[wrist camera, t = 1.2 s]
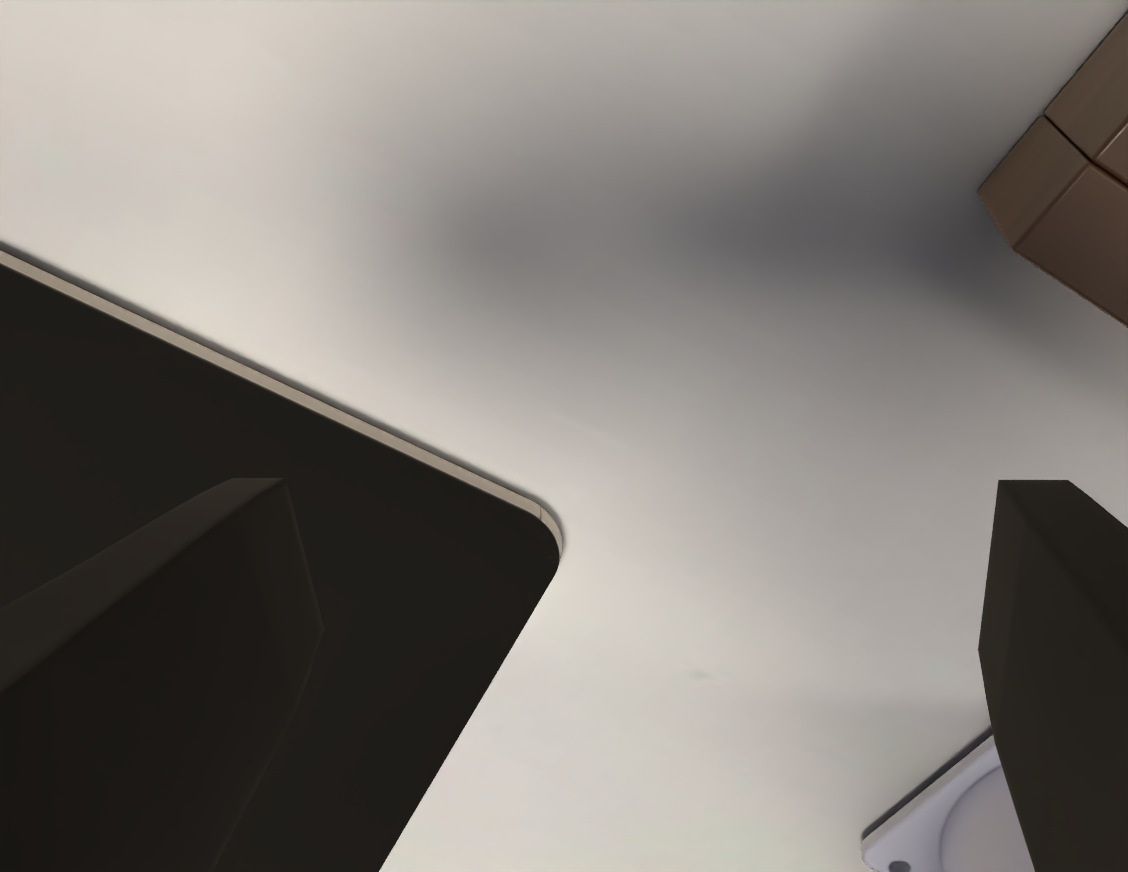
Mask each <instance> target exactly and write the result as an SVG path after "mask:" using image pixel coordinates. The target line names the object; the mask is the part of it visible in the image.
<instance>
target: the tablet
mask: <svg viewBox="0 0 1128 872" xmlns="http://www.w3.org/2000/svg"><path fill="white" fill-rule="evenodd" d="M232 478H285V479H286V483H287V487H288V490H289V494H290V498H291V502H292V506H293V510H294V513H295V517H296V521H297V525H298V529H299V533H300V537H301V540H302V544H303V548H304V552H305V556H306V560H307V564H308V567H309V571H310V575H311V579H312V583H313V587H314V591H315V594H316V598H317V602H318V606H319V610H320V614H321V618H322V621H323V625H324V632H323V635H322V638H321V641H320V644H319V647H318V650H317V653H316V656H315V660H314V663H313V666H312V669H311V672H310V675H309V677H308V680H307V683H306V685H305V688H304V691H303V693H302V696H301V699H300V701H299V704H298V707H297V709H296V712H295V714H294V716H293V718H292V720H291V722H290V724H289V726H288V728H287V730H286V732H285V734H284V736H283V738H282V740H281V742H280V744H279V745H278V747H277V749H276V751H275V753H274V755H273V757H272V759H271V761H270V763H269V765H268V767H267V769H266V771H265V773H264V775H263V777H262V778H261V780H260V782H259V784H258V786H257V788H256V790H255V792H254V794H253V796H252V797H251V799H250V801H249V803H248V805H247V807H246V809H245V811H244V813H243V815H242V816H241V818H240V820H239V822H238V824H237V826H236V828H235V830H234V832H233V833H232V835H231V837H230V839H229V841H228V843H227V845H226V847H225V849H224V851H223V852H222V854H221V856H220V858H219V860H218V862H217V864H216V866H215V868H214V870H213V871H212V872H379V870H380V869H381V867H382V865H383V863H384V862H385V860H386V858H387V857H388V855H389V853H390V852H391V850H392V848H393V847H394V845H395V843H396V842H397V840H398V838H399V837H400V835H401V833H402V831H403V830H404V828H405V826H406V825H407V823H408V821H409V820H410V818H411V816H412V815H413V813H414V811H415V810H416V808H417V806H418V805H419V803H420V801H421V799H422V798H423V796H424V794H425V793H426V791H427V789H428V788H429V786H430V784H431V783H432V781H433V779H434V778H435V776H436V774H437V773H438V771H439V769H440V767H441V766H442V764H443V762H444V761H445V759H446V757H447V756H448V754H449V752H450V751H451V749H452V747H453V746H454V744H455V742H456V741H457V739H458V737H459V735H460V734H461V732H462V730H463V729H464V727H465V725H466V724H467V722H468V720H469V719H470V717H471V715H472V714H473V712H474V710H475V709H476V707H477V705H478V703H479V702H480V700H481V698H482V697H483V695H484V693H485V692H486V690H487V688H488V687H489V685H490V683H491V682H492V680H493V678H494V677H495V675H496V673H497V671H498V670H499V668H500V666H501V665H502V663H503V661H504V660H505V658H506V656H507V655H508V653H509V651H510V650H511V648H512V646H513V645H514V643H515V641H516V639H517V638H518V636H519V634H520V633H521V631H522V629H523V628H524V626H525V624H526V623H527V621H528V619H529V618H530V616H531V614H532V613H533V611H534V609H535V607H536V606H537V604H538V602H539V601H540V599H541V597H542V596H543V594H544V592H545V591H546V589H547V587H548V586H549V584H550V582H551V581H552V579H553V577H554V575H555V573H556V571H557V569H558V565H559V562H560V558H561V554H562V536H561V533H560V530H559V528H558V526H557V524H556V522H555V521H554V519H553V518H552V517H551V515H550V514H549V513H548V512H547V511H546V510H544V509H543V508H542V507H541V506H539V505H538V504H536V503H535V502H533V501H531V500H529V499H527V498H525V497H522V496H520V495H518V494H516V493H514V492H512V491H510V490H508V489H506V488H503V487H501V486H499V485H497V484H495V483H493V482H491V481H489V480H486V479H484V478H482V477H480V476H478V475H476V474H474V473H472V472H469V471H467V470H465V469H463V468H461V467H459V466H457V465H455V464H452V463H450V462H448V461H446V460H444V459H442V458H440V457H438V456H435V455H433V454H431V453H429V452H427V451H425V450H423V449H421V448H418V447H416V446H414V445H412V444H410V443H408V442H406V441H404V440H402V439H399V438H397V437H395V436H393V435H391V434H389V433H387V432H385V431H382V430H380V429H378V428H376V427H374V426H372V425H370V424H368V423H365V422H363V421H361V420H359V419H357V418H355V417H353V416H351V415H348V414H346V413H344V412H342V411H340V410H338V409H336V408H334V407H331V406H329V405H327V404H325V403H323V402H321V401H319V400H317V399H314V398H312V397H310V396H308V395H306V394H304V393H302V392H300V391H298V390H295V389H293V388H291V387H289V386H287V385H285V384H283V383H281V382H278V381H276V380H274V379H272V378H270V377H268V376H266V375H264V374H261V373H259V372H257V371H255V370H253V369H251V368H249V367H247V366H244V365H242V364H240V363H238V362H236V361H234V360H232V359H230V358H227V357H225V356H223V355H221V354H219V353H217V352H215V351H213V350H210V349H208V348H206V347H204V346H202V345H200V344H198V343H196V342H194V341H191V340H189V339H187V338H185V337H183V336H181V335H179V334H177V333H174V332H172V331H170V330H168V329H166V328H164V327H162V326H160V325H157V324H155V323H153V322H151V321H149V320H147V319H145V318H143V317H140V316H138V315H136V314H134V313H132V312H130V311H128V310H126V309H123V308H121V307H119V306H117V305H115V304H113V303H111V302H109V301H106V300H104V299H102V298H100V297H98V296H96V295H94V294H92V293H90V292H87V291H85V290H83V289H81V288H79V287H77V286H75V285H73V284H70V283H68V282H66V281H64V280H62V279H60V278H58V277H56V276H53V275H51V274H49V273H47V272H45V271H43V270H41V269H39V268H36V267H34V266H32V265H30V264H28V263H26V262H24V261H22V260H19V259H17V258H15V257H13V256H11V255H9V254H7V253H5V252H2V251H0V608H2V607H4V606H6V605H8V604H9V603H11V602H13V601H15V600H17V599H18V598H20V597H22V596H24V595H26V594H27V593H29V592H31V591H33V590H35V589H37V588H38V587H40V586H42V585H44V584H46V583H47V582H49V581H51V580H53V579H55V578H57V577H58V576H60V575H62V574H64V573H65V572H67V571H69V570H70V569H72V568H74V567H75V566H77V565H79V564H81V563H82V562H84V561H86V560H87V559H89V558H91V557H92V556H94V555H96V554H97V553H99V552H101V551H102V550H104V549H106V548H108V547H109V546H111V545H113V544H114V543H116V542H118V541H119V540H121V539H123V538H124V537H126V536H128V535H130V534H131V533H133V532H135V531H136V530H138V529H140V528H141V527H143V526H145V525H146V524H148V523H150V522H151V521H153V520H155V519H157V518H158V517H160V516H162V515H163V514H165V513H167V512H169V511H170V510H172V509H174V508H175V507H177V506H179V505H181V504H182V503H184V502H186V501H188V500H190V499H191V498H193V497H195V496H197V495H199V494H201V493H202V492H204V491H206V490H208V489H210V488H212V487H214V486H216V485H219V484H221V483H223V482H225V481H227V480H230V479H232Z"/></svg>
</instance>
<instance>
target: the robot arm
mask: <svg viewBox="0 0 1128 872" xmlns="http://www.w3.org/2000/svg"><path fill="white" fill-rule="evenodd" d="M323 632H324V625H323V621H322V618H321V614H320V610H319V606H318V602H317V598H316V594H315V591H314V587H313V583H312V579H311V575H310V571H309V567H308V564H307V560H306V556H305V552H304V548H303V544H302V540H301V537H300V533H299V529H298V525H297V521H296V517H295V513H294V510H293V506H292V502H291V498H290V494H289V490H288V487H287V483H286V479H285V478H232V479H230V480H227V481H225V482H223V483H221V484H219V485H216V486H214V487H212V488H210V489H208V490H206V491H204V492H202V493H201V494H199V495H197V496H195V497H193V498H191V499H190V500H188V501H186V502H184V503H182V504H181V505H179V506H177V507H175V508H174V509H172V510H170V511H169V512H167V513H165V514H163V515H162V516H160V517H158V518H157V519H155V520H153V521H151V522H150V523H148V524H146V525H145V526H143V527H141V528H140V529H138V530H136V531H135V532H133V533H131V534H130V535H128V536H126V537H124V538H123V539H121V540H119V541H118V542H116V543H114V544H113V545H111V546H109V547H108V548H106V549H104V550H102V551H101V552H99V553H97V554H96V555H94V556H92V557H91V558H89V559H87V560H86V561H84V562H82V563H81V564H79V565H77V566H75V567H74V568H72V569H70V570H69V571H67V572H65V573H64V574H62V575H60V576H58V577H57V578H55V579H53V580H51V581H49V582H47V583H46V584H44V585H42V586H40V587H38V588H37V589H35V590H33V591H31V592H29V593H27V594H26V595H24V596H22V597H20V598H18V599H17V600H15V601H13V602H11V603H9V604H8V605H6V606H4V607H2V608H0V872H212V871H213V870H214V868H215V866H216V864H217V862H218V860H219V858H220V856H221V854H222V852H223V851H224V849H225V847H226V845H227V843H228V841H229V839H230V837H231V835H232V833H233V832H234V830H235V828H236V826H237V824H238V822H239V820H240V818H241V816H242V815H243V813H244V811H245V809H246V807H247V805H248V803H249V801H250V799H251V797H252V796H253V794H254V792H255V790H256V788H257V786H258V784H259V782H260V780H261V778H262V777H263V775H264V773H265V771H266V769H267V767H268V765H269V763H270V761H271V759H272V757H273V755H274V753H275V751H276V749H277V747H278V745H279V744H280V742H281V740H282V738H283V736H284V734H285V732H286V730H287V728H288V726H289V724H290V722H291V720H292V718H293V716H294V714H295V712H296V709H297V707H298V704H299V701H300V699H301V696H302V693H303V691H304V688H305V685H306V683H307V680H308V677H309V675H310V672H311V669H312V666H313V663H314V660H315V656H316V653H317V650H318V647H319V644H320V641H321V638H322V635H323ZM978 651H979V657H980V663H981V669H982V675H983V681H984V687H985V693H986V699H987V705H988V710H989V716H990V721H991V726H992V732H993V735H992V736H990V737H989V738H988V739H987V740H985V741H984V742H983V743H982V744H980V745H979V746H978V747H977V748H976V749H974V750H973V751H972V752H971V753H969V754H968V755H967V756H966V757H964V758H963V759H962V760H961V761H960V762H958V763H957V764H956V765H955V766H953V767H952V768H951V769H950V770H948V771H947V772H946V773H945V774H943V775H942V776H941V777H940V778H939V779H937V780H936V781H935V782H934V783H932V784H931V785H930V786H929V787H927V788H926V789H925V790H924V791H923V792H921V793H920V794H919V795H918V796H916V797H915V798H914V799H913V800H911V801H910V802H909V803H908V804H906V805H905V806H904V807H903V808H902V809H900V810H899V811H898V812H897V813H895V814H894V815H893V816H892V817H890V818H889V819H888V820H887V821H886V822H884V823H883V824H882V825H881V826H879V827H878V828H877V829H876V830H874V831H873V832H872V833H871V834H870V835H868V836H867V837H866V838H865V839H864V840H863V842H862V844H861V852H862V859H863V861H864V863H865V864H866V865H868V866H869V867H870V868H872V869H874V870H876V871H877V872H1128V528H1127V527H1126V526H1125V525H1123V524H1122V523H1121V522H1120V521H1119V520H1117V519H1116V518H1115V517H1114V516H1113V515H1111V514H1110V513H1109V512H1108V511H1107V510H1105V509H1104V508H1103V507H1102V506H1100V505H1099V504H1098V503H1097V502H1096V501H1094V500H1093V499H1092V498H1091V497H1089V496H1088V495H1087V494H1086V493H1084V492H1083V491H1082V490H1081V489H1079V488H1078V487H1077V486H1075V485H1074V484H1073V483H1071V482H1070V481H1069V480H999V481H998V489H997V497H996V506H995V514H994V522H993V531H992V539H991V547H990V556H989V564H988V572H987V580H986V589H985V597H984V605H983V614H982V622H981V630H980V639H979V647H978ZM896 861H900V862H896Z"/></svg>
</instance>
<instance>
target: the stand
mask: <svg viewBox="0 0 1128 872" xmlns="http://www.w3.org/2000/svg"><path fill="white" fill-rule="evenodd" d="M1044 114H1045V115H1046V116H1041V117H1039V118H1038V119H1037V121H1036V122H1035V123H1034V124H1033V125H1032V126H1031V128H1030V129H1029V130H1028V131H1027V132H1026V134H1025V135H1024V136H1023V137H1022V138H1021V140H1020V141H1019V142H1018V143H1017V144H1016V146H1015V147H1014V148H1013V149H1012V150H1011V151H1010V153H1009V154H1008V155H1007V156H1006V157H1005V159H1004V160H1003V161H1002V162H1001V163H1000V165H999V166H998V167H997V168H996V169H995V170H994V172H993V173H992V174H991V175H990V176H989V178H988V179H987V180H986V181H985V182H984V184H983V185H982V186H981V187H980V188H979V190H978V192H977V193H978V195H979V197H980V198H981V200H982V202H983V203H984V205H985V207H986V208H987V210H988V211H989V213H990V215H991V216H992V218H993V220H994V221H995V223H996V225H997V226H998V228H999V229H1000V231H1001V233H1002V234H1003V236H1004V238H1005V239H1006V241H1007V243H1008V244H1009V246H1010V247H1011V249H1012V251H1013V252H1015V253H1016V254H1018V255H1019V256H1021V257H1022V258H1024V259H1025V260H1027V261H1028V262H1030V263H1031V264H1033V265H1034V266H1036V267H1037V268H1039V269H1040V270H1042V271H1043V272H1045V273H1046V274H1048V275H1049V276H1051V277H1052V278H1054V279H1055V280H1057V281H1058V282H1060V283H1061V284H1063V285H1064V286H1066V287H1067V288H1069V289H1070V290H1072V291H1073V292H1075V293H1076V294H1078V295H1079V296H1081V297H1082V298H1084V299H1085V300H1087V301H1088V302H1090V303H1091V304H1093V305H1094V306H1096V307H1097V308H1099V309H1100V310H1102V311H1103V312H1105V313H1106V314H1108V315H1109V316H1111V317H1112V318H1114V319H1115V320H1117V321H1118V322H1120V323H1121V324H1123V325H1124V326H1126V327H1127V328H1128V12H1127V14H1126V15H1125V16H1124V17H1123V18H1122V20H1121V21H1120V22H1119V23H1118V24H1117V26H1116V27H1115V28H1114V29H1113V30H1112V31H1111V33H1110V34H1109V35H1108V36H1107V37H1106V39H1105V40H1104V41H1103V42H1102V43H1101V45H1100V46H1099V47H1098V48H1097V49H1096V51H1095V52H1094V53H1093V54H1092V55H1091V56H1090V58H1089V59H1088V60H1087V61H1086V62H1085V64H1084V65H1083V66H1082V67H1081V68H1080V70H1079V71H1078V72H1077V73H1076V74H1075V75H1074V77H1073V78H1072V79H1071V80H1070V81H1069V83H1068V84H1067V85H1066V86H1065V87H1064V89H1063V90H1062V91H1061V92H1060V93H1059V95H1058V96H1057V97H1056V98H1055V99H1054V100H1053V102H1052V103H1051V104H1050V105H1049V106H1048V108H1047V109H1046V111H1045V113H1044Z"/></svg>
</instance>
